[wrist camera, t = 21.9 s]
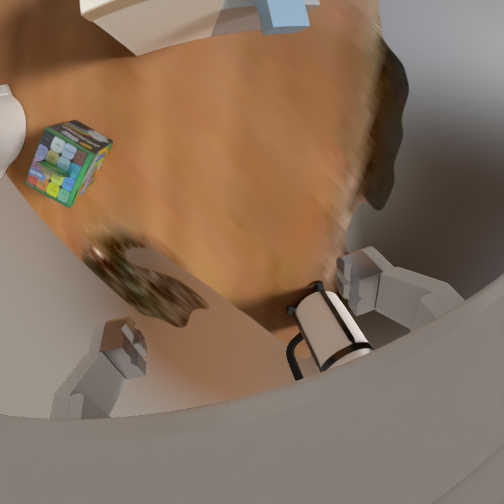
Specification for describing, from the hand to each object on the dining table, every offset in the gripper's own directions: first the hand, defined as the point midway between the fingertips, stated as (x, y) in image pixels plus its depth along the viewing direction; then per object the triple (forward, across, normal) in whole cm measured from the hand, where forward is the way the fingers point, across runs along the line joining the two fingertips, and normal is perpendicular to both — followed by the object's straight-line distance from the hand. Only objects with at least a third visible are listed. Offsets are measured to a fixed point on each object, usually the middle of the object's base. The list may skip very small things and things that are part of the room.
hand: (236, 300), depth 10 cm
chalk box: (+39, +20, -5) cm, 44 cm away
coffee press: (+39, -16, +45) cm, 62 cm away
